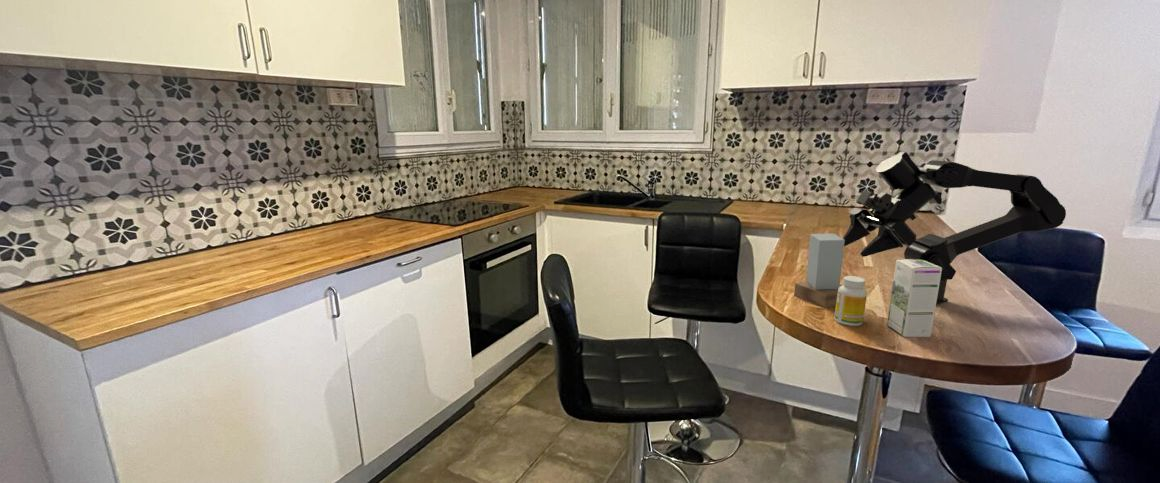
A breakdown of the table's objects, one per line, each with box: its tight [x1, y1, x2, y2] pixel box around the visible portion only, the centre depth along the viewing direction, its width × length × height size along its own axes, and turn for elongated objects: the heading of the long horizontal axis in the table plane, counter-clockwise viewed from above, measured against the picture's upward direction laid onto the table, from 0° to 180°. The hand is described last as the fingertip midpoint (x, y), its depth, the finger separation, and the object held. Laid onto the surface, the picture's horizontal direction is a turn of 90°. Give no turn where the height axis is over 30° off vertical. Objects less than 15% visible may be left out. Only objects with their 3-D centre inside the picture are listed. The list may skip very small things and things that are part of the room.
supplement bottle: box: [833, 275, 868, 327], centre depth 103 cm, size 5×5×10 cm
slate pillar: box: [805, 233, 845, 290], centre depth 116 cm, size 6×6×12 cm
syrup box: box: [886, 258, 942, 338], centre depth 97 cm, size 6×6×14 cm
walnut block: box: [793, 281, 843, 309], centre depth 117 cm, size 9×9×4 cm
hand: (850, 250), depth 115 cm, fingers open, 9 cm apart
